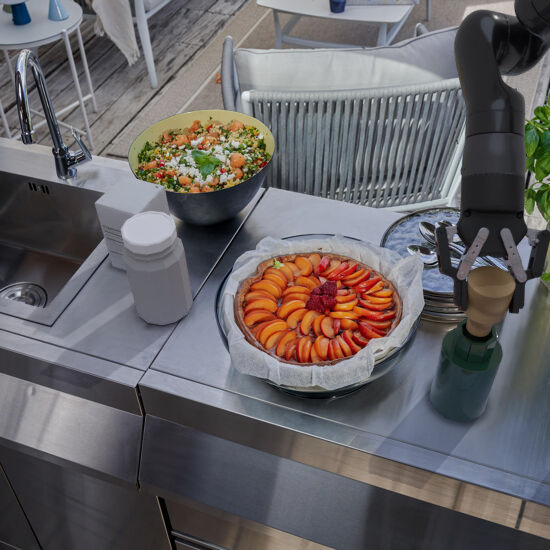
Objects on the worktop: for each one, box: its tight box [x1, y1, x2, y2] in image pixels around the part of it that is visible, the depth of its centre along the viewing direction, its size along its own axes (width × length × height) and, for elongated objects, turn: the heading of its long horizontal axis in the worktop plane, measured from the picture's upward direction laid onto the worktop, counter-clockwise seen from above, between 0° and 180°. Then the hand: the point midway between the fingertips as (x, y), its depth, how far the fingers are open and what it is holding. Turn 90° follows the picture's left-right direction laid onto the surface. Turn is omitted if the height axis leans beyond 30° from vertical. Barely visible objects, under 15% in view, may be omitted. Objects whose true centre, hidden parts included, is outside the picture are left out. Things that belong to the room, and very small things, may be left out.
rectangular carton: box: [94, 175, 171, 271], centre depth 114 cm, size 9×9×15 cm
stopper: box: [462, 265, 515, 337], centre depth 81 cm, size 6×6×9 cm
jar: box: [121, 211, 194, 326], centre depth 104 cm, size 10×10×18 cm
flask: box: [429, 316, 504, 423], centre depth 89 cm, size 8×8×16 cm
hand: (488, 311), depth 79 cm, fingers closed on stopper, 5 cm apart
